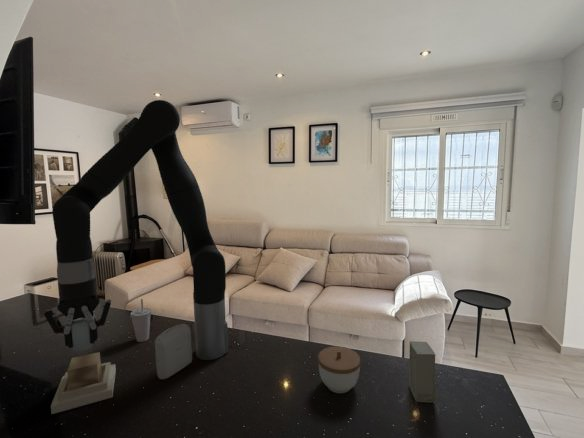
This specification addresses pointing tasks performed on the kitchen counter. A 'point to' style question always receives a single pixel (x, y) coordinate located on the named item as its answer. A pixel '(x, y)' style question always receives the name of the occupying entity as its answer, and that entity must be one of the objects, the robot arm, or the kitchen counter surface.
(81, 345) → the grey post
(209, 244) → the robot arm
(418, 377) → the skincare box
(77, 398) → the cream base
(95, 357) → the oak block
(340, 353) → the lidded jar
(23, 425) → the kitchen counter surface
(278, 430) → the kitchen counter surface
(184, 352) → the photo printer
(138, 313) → the smoothie
